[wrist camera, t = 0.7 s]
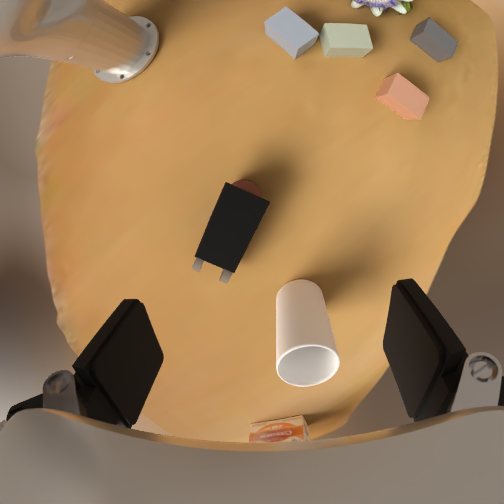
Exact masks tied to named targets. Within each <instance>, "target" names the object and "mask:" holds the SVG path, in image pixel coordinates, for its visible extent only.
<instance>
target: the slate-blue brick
mask: <svg viewBox="0 0 504 504" xmlns="http://www.w3.org/2000/svg"><path fill="white" fill-rule="evenodd" d="M264 23H265V34H266V35H267V36H268V37H270V38H271V39H272V40H273V41H275V42H276V43H277V44H278V45H279V46H280V47H282V48H283V49H284V50H285V51H286V52H287V53H289V54H290V55H291V56H292V57H293V58H294V59H296V58H297V57H298V56H300V55H301V54H302V53H304V52H305V51H306V50H308V49H309V48H310V47H312V46H313V45H314V44H315V42H316V40H317V38H318V36H319V33H318V32H317V31H316V30H315V29H313V28H312V27H311V26H310V25H309V24H308V23H306V22H305V21H304V20H303V19H302V18H300V17H299V16H298V15H297V14H295V13H294V12H293V11H291V10H290V9H289V8H287V7H285V8H283V9H282V10H280V11H279V12H277V13H276V14H275V15H273V16H272V17H270V18H269V19H267V20H266V21H265V22H264Z"/></svg>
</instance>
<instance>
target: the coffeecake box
mask: <svg viewBox="0 0 504 504" xmlns="http://www.w3.org/2000/svg"><path fill="white" fill-rule="evenodd" d="M301 441H309V432H308V425H307V423H306V421H305V419H304V417H303V415H300V416H295V417H290V418H285V419H279V420H273V421H267V422H260V423H252V424H251V425H250V434H249V443H282V442H301Z"/></svg>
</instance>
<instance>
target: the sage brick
mask: <svg viewBox="0 0 504 504" xmlns="http://www.w3.org/2000/svg"><path fill="white" fill-rule="evenodd" d="M319 37H320V41H321V45H322V49H323V54H324V57H361V58H363V57H364V56H365V55H366V54H367V53H369V52H370V51H371V50H373V46H372V42H371V38H370V35H369V31H368V28H367V25H363V24H346V23H325V24H324V26H323V28H322V30H321V32H320V34H319Z"/></svg>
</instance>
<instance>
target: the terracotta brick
mask: <svg viewBox="0 0 504 504" xmlns="http://www.w3.org/2000/svg"><path fill="white" fill-rule="evenodd" d="M375 98H376V99H377V100H379V101H380V102H381V103H383V104H384V105H386V106H387V107H389V108H390V109H391V110H393V111H394V112H395V113H397V114H398V115H400V116H401V117H402V118H404V119H405V120H414V119H421V117H422V115H423V113H424V111H425V108H426V106H427V104H428V102H429V99H430V98H429V97H428V96H427V95H426V94H424V93H423V92H422V91H421V90H420V89H418V88H417V87H416V86H415V85H413V84H412V83H411V82H409V81H408V80H407V79H406V78H404V77H403V76H401V75H400V74H399V73H395V74H393V75H391V76H388V77H386V78H384V80H383V82H382V84H381V86H380V88H379V90H378V92H377V94H376V96H375Z"/></svg>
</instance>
